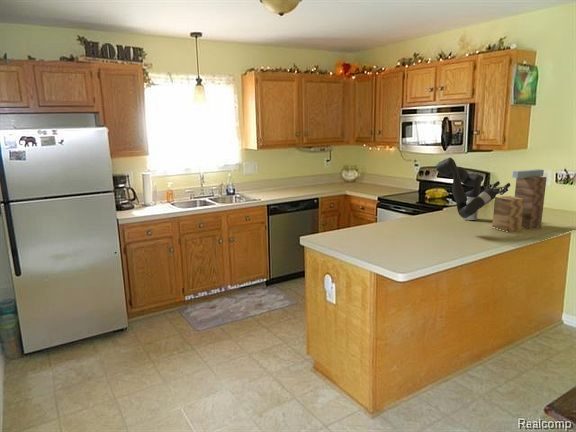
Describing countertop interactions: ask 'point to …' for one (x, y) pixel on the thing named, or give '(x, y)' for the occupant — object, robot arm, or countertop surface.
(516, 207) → the block
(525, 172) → the bar
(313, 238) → the countertop surface
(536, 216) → the post
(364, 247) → the countertop surface
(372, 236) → the countertop surface
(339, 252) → the countertop surface
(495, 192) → the robot arm
